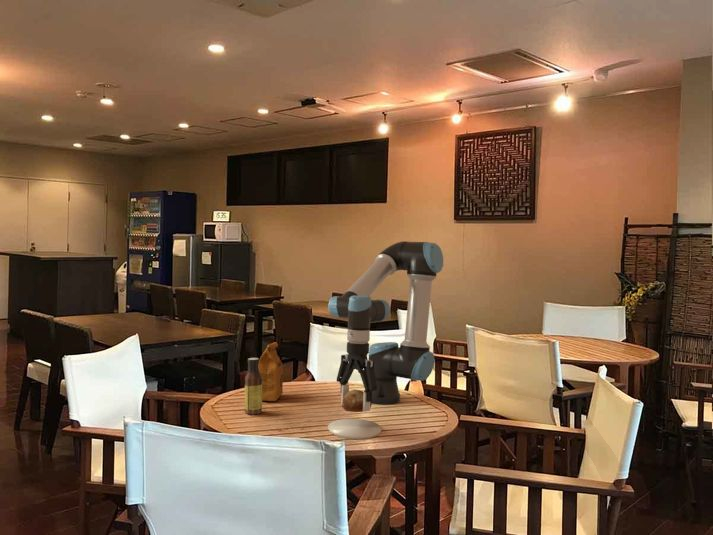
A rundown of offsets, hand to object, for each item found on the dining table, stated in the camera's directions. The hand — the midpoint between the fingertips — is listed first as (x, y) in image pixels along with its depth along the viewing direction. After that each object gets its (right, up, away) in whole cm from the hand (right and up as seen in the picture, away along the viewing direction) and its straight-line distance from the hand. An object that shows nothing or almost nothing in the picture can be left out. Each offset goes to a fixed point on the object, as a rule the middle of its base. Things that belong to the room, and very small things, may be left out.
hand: (355, 407), depth 202 cm
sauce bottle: (-37, -6, +16) cm, 41 cm away
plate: (0, -8, +1) cm, 8 cm away
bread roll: (0, -1, 0) cm, 1 cm away
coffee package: (-34, -5, +36) cm, 50 cm away
